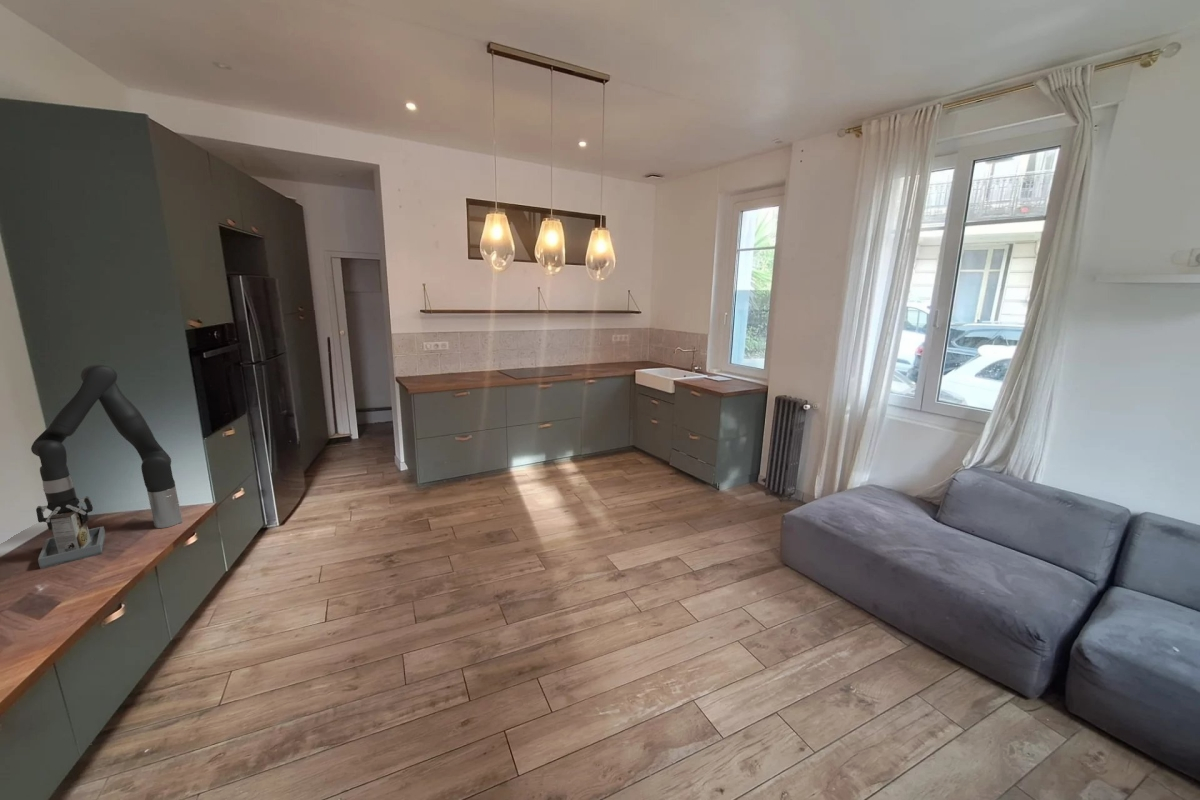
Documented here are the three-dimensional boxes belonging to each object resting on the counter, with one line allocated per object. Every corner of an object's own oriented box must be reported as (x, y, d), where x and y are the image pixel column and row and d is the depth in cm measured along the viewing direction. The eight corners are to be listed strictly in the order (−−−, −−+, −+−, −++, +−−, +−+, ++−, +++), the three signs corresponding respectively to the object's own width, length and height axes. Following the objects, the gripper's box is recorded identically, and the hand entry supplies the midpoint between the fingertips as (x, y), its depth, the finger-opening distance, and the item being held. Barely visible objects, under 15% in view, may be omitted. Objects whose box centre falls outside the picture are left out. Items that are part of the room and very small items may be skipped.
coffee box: (70, 544, 189) (61, 508, 185) (92, 541, 192) (83, 505, 188) (57, 555, 181) (47, 518, 177) (80, 552, 184) (71, 515, 180)
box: (105, 534, 199) (103, 526, 198) (101, 553, 185) (99, 544, 184) (48, 547, 188) (46, 538, 187) (40, 569, 174) (37, 559, 173)
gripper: (86, 480, 187) (96, 517, 191) (32, 490, 178) (43, 528, 182) (85, 486, 182) (94, 523, 186) (29, 496, 173) (40, 535, 176)
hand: (69, 526), depth 184 cm, fingers open, 8 cm apart
